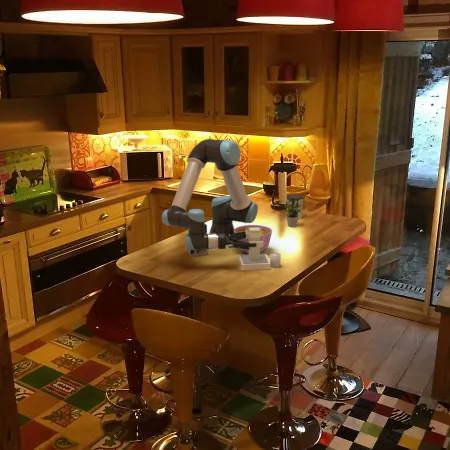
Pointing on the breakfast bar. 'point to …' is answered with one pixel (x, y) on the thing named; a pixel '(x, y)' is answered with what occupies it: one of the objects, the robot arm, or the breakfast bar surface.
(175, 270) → the breakfast bar surface
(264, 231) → the bowl of food
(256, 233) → the slim carton
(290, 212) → the house plant
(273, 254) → the white rounded capsule
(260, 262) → the podium
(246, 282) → the breakfast bar surface
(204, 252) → the coffee box
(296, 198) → the coffee can
